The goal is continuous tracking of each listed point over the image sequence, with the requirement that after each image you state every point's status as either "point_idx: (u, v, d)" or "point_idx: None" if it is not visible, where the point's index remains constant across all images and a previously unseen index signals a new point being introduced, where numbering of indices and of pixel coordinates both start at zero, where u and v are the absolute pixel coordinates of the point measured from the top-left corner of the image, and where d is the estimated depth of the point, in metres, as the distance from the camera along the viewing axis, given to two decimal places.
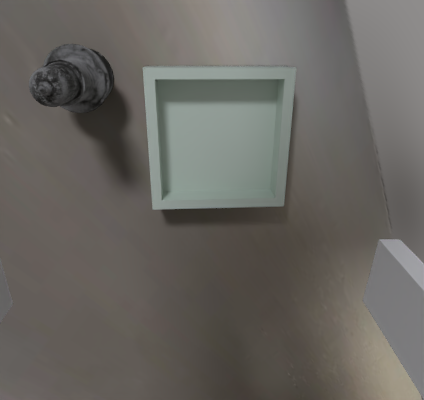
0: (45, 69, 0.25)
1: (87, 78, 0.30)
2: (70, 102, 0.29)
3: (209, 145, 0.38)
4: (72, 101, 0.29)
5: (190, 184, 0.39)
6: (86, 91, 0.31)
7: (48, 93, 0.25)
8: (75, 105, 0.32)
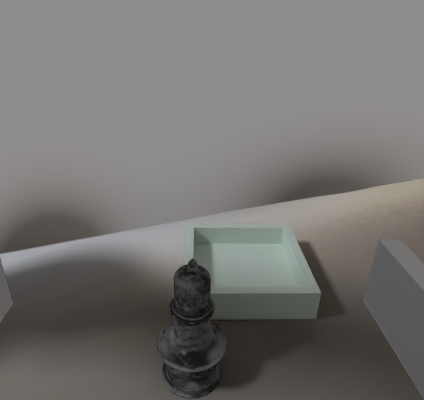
0: (176, 273, 0.27)
1: None
2: (210, 300, 0.29)
3: (250, 275, 0.42)
4: None
5: (291, 286, 0.41)
6: None
7: (197, 266, 0.27)
8: (218, 341, 0.30)
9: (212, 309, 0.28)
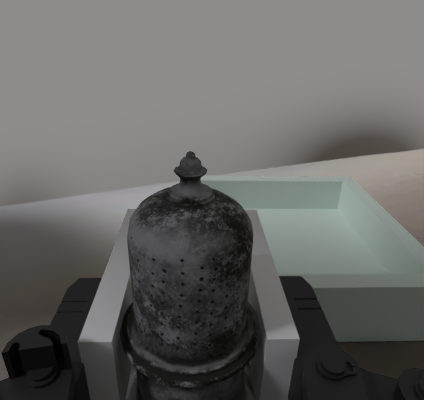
0: (134, 212, 0.08)
1: None
2: None
3: (298, 256, 0.23)
4: None
5: None
6: None
7: (207, 186, 0.08)
8: None
9: (252, 332, 0.09)
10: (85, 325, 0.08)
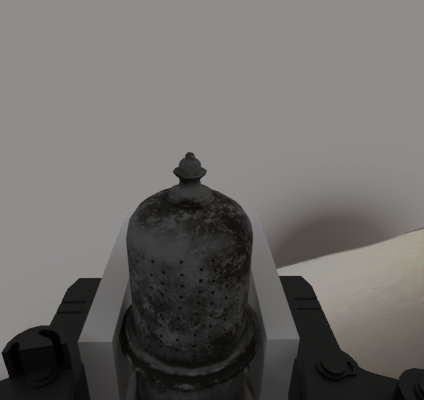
0: (133, 213, 0.08)
1: None
2: None
3: None
4: None
5: None
6: None
7: (206, 187, 0.08)
8: None
9: (252, 334, 0.09)
10: (85, 325, 0.08)
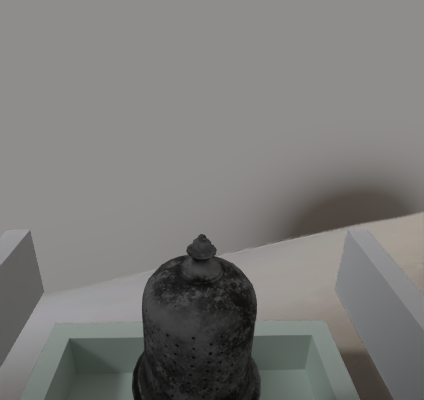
0: (149, 283, 0.09)
1: None
2: None
3: None
4: None
5: None
6: None
7: (216, 261, 0.09)
8: None
9: (254, 388, 0.10)
10: None
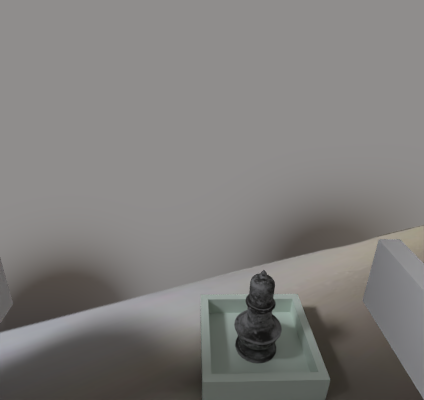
0: (252, 280, 0.41)
1: None
2: None
3: None
4: None
5: (301, 364, 0.43)
6: None
7: (266, 275, 0.41)
8: (276, 325, 0.44)
9: (274, 303, 0.42)
10: None
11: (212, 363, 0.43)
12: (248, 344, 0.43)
